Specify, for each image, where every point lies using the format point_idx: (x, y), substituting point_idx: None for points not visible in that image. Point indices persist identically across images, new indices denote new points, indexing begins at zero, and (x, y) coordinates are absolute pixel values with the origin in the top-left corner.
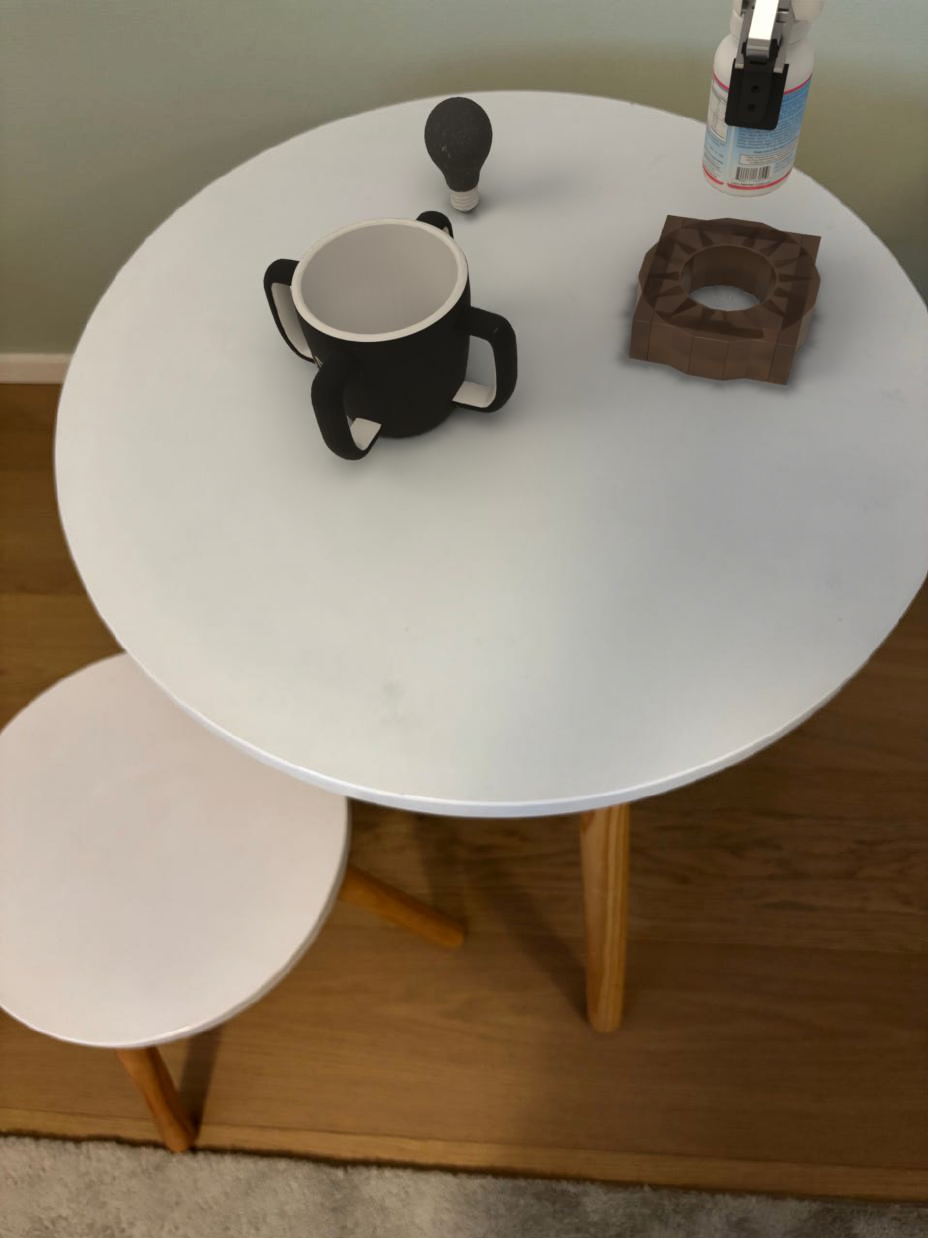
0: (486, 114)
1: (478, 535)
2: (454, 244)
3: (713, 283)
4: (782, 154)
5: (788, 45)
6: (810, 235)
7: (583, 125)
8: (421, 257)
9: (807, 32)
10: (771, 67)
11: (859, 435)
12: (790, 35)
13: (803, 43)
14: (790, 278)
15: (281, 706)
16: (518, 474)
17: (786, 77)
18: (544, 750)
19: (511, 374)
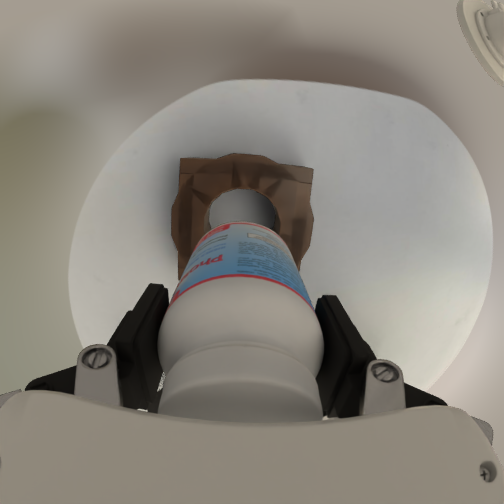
0: (155, 407)
1: (406, 317)
2: (323, 419)
3: (210, 227)
4: (286, 252)
5: (366, 386)
6: (180, 167)
7: (88, 324)
8: None
9: (268, 349)
10: (413, 387)
11: (340, 119)
12: (369, 400)
13: (239, 326)
14: (236, 177)
15: (453, 350)
16: (376, 311)
17: (358, 341)
18: (482, 265)
19: (370, 349)
